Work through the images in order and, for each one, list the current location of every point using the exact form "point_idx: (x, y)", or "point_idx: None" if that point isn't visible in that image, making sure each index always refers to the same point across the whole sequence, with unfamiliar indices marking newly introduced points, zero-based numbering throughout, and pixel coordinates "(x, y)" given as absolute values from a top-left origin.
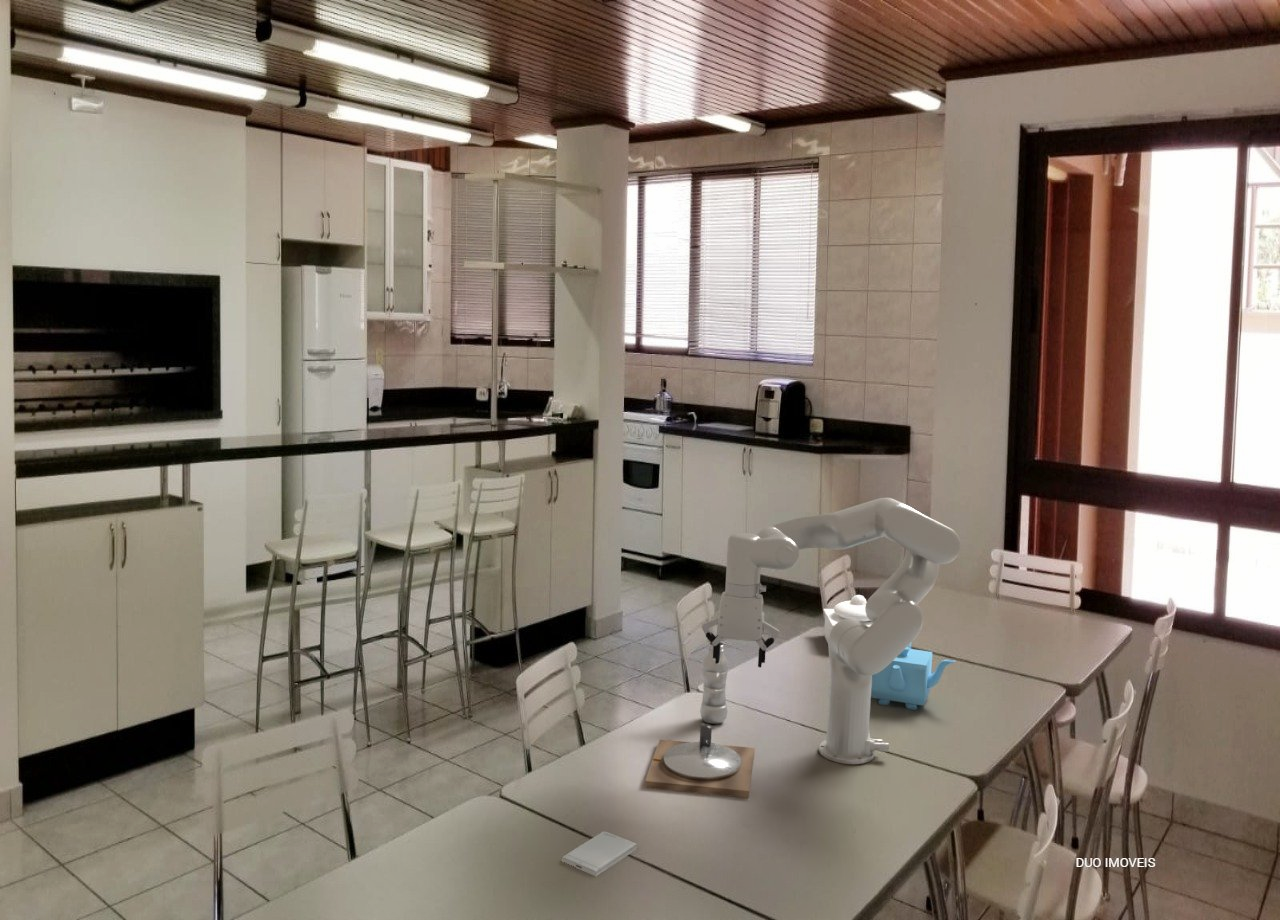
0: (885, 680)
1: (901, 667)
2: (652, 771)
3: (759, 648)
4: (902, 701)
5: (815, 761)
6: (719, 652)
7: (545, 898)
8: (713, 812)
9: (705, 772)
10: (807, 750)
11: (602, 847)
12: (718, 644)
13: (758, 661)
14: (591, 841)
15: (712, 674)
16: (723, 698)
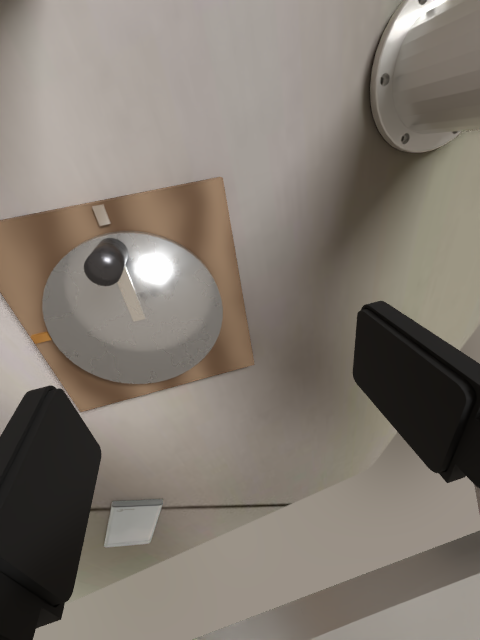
0: None
1: None
2: (69, 381)
3: (455, 433)
4: None
5: (355, 159)
6: (66, 499)
7: (129, 567)
8: (215, 411)
9: (173, 368)
10: (340, 91)
11: (132, 524)
12: (31, 627)
13: (376, 404)
14: (113, 523)
15: None
16: None
